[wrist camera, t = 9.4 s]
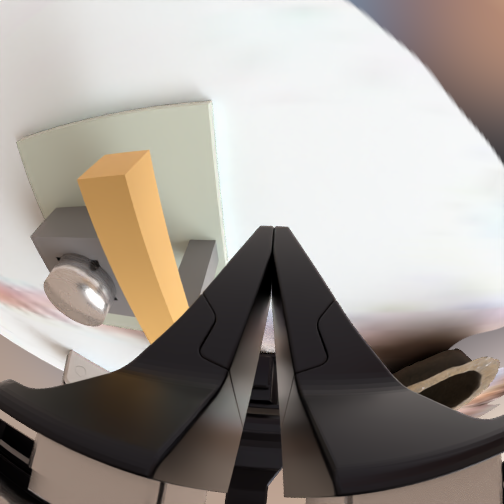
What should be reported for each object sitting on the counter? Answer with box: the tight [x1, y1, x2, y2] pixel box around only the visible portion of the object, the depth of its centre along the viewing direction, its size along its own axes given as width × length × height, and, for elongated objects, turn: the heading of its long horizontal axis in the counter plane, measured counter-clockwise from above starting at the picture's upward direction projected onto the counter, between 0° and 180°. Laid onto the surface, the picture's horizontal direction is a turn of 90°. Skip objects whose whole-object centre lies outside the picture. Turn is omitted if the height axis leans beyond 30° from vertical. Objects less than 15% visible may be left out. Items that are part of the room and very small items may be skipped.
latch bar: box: [77, 150, 189, 344], centre depth 13 cm, size 12×3×2 cm, turn 2°
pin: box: [44, 253, 116, 326], centre depth 21 cm, size 6×6×6 cm
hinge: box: [62, 350, 110, 385], centre depth 44 cm, size 17×5×10 cm, turn 46°
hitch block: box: [16, 101, 228, 331], centre depth 21 cm, size 24×17×8 cm
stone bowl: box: [392, 349, 500, 410], centre depth 33 cm, size 25×25×9 cm
